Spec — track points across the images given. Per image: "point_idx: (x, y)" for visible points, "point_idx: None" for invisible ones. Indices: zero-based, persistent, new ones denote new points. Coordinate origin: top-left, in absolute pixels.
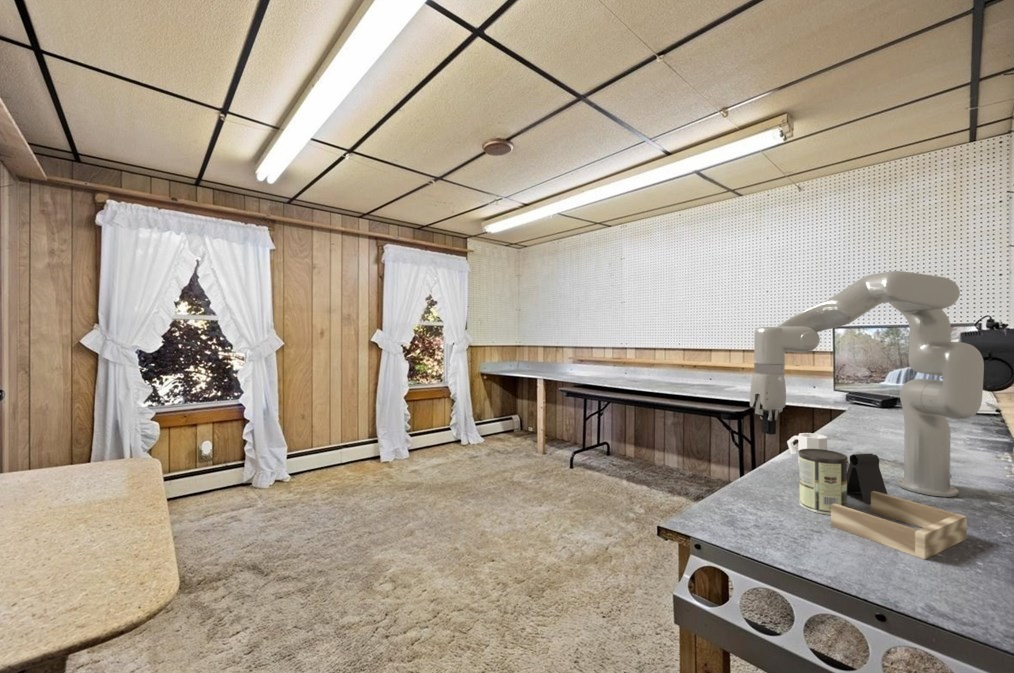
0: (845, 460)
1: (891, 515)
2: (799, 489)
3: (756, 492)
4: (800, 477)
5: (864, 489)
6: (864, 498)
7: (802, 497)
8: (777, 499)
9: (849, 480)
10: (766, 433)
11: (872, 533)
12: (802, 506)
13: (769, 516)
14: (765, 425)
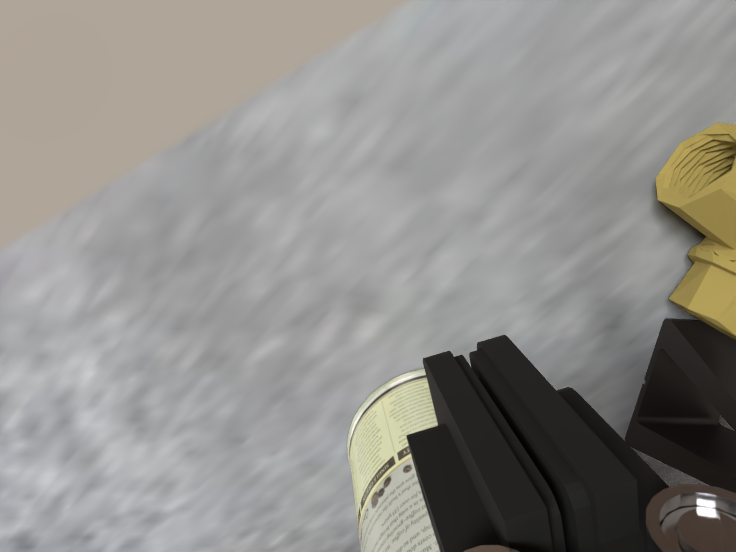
0: None
1: None
2: (376, 441)
3: (276, 241)
4: (373, 510)
5: (669, 461)
6: (642, 435)
7: (355, 454)
8: (312, 339)
9: (709, 398)
10: (436, 412)
11: None
12: (350, 430)
13: (136, 483)
14: (434, 529)
